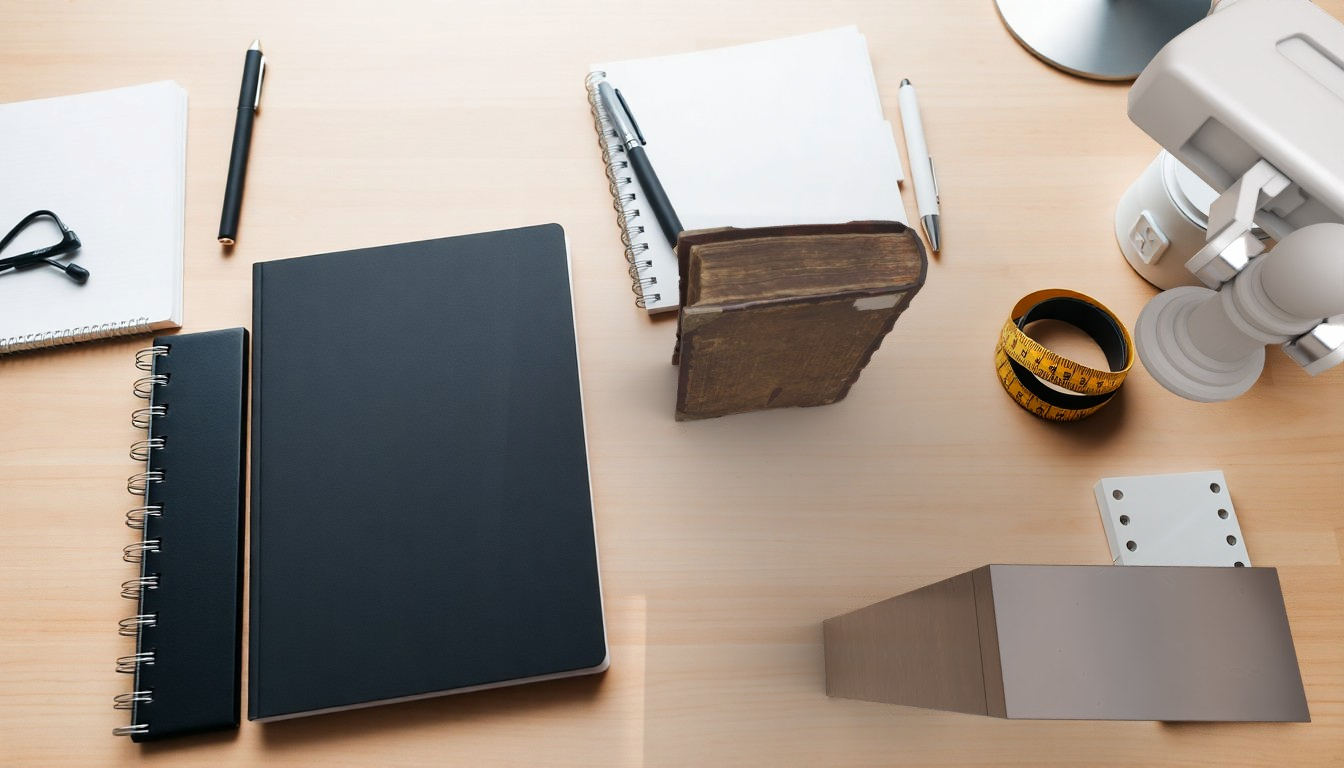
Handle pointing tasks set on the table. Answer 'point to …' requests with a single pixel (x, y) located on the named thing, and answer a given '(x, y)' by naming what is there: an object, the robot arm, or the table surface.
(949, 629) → the brushed taupe box
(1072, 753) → the table surface
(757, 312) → the book
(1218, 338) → the chess piece
